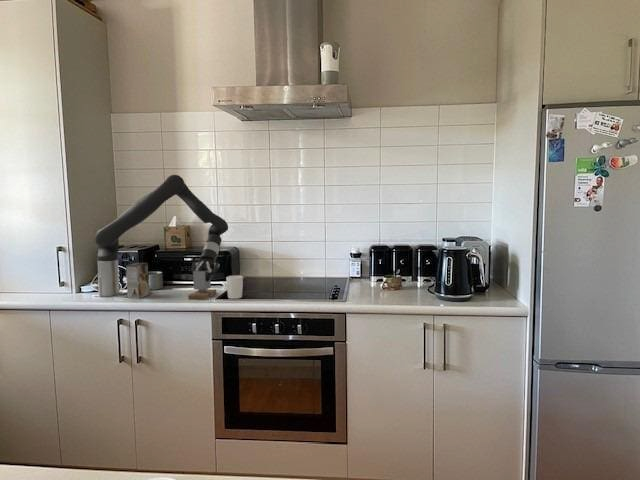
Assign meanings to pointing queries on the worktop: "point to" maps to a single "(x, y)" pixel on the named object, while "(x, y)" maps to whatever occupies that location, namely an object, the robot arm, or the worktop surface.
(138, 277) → the coffee box
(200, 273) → the socket
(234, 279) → the white cup
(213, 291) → the post block
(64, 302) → the worktop surface
